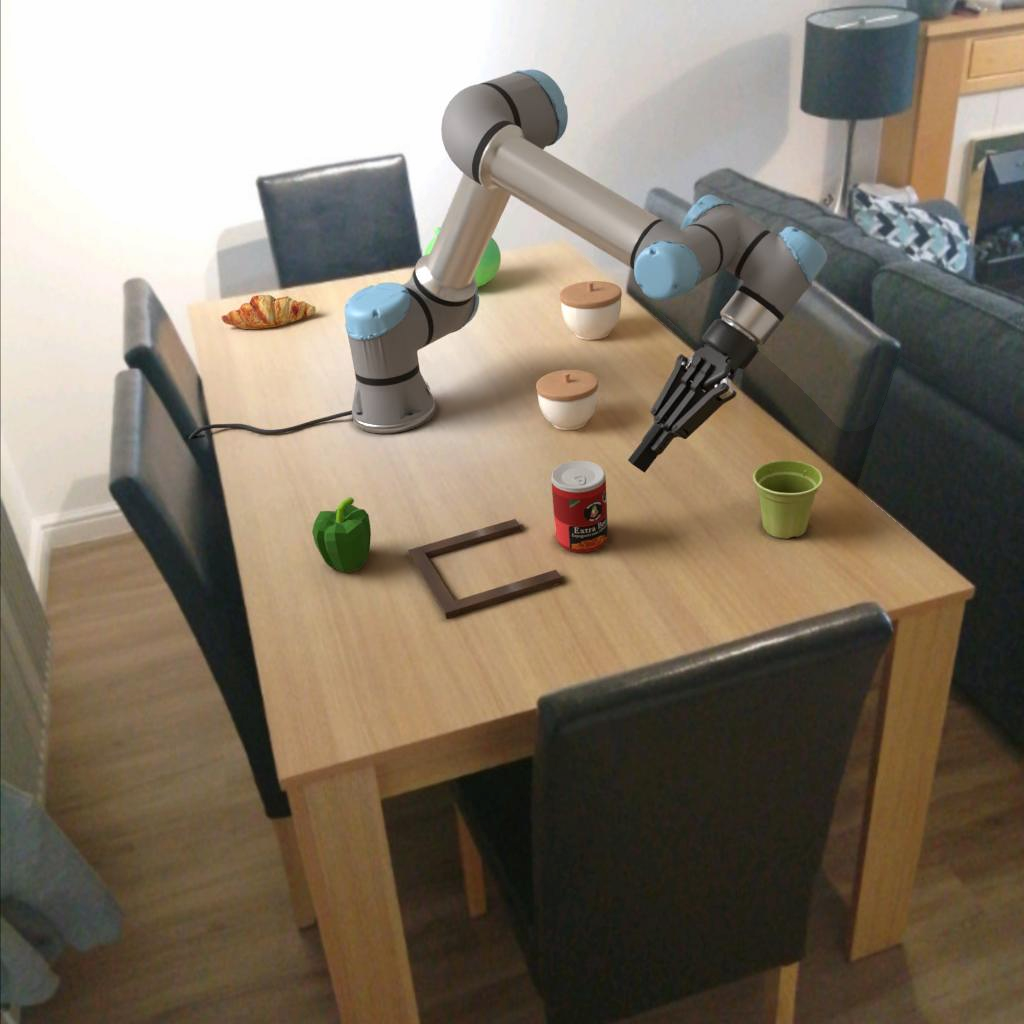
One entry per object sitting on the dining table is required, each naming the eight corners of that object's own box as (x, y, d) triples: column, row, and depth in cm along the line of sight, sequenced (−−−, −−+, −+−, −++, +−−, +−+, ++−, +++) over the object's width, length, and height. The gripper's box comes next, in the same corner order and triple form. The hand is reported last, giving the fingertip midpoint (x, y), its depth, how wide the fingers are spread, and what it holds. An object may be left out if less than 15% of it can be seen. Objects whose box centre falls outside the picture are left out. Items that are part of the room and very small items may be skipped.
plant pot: (805, 552, 144) (810, 499, 139) (741, 536, 149) (743, 484, 144) (827, 519, 151) (831, 467, 146) (764, 505, 155) (767, 454, 150)
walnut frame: (515, 524, 157) (515, 518, 156) (562, 582, 143) (561, 576, 142) (408, 555, 152) (407, 549, 151) (446, 619, 138) (445, 613, 138)
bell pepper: (328, 585, 147) (315, 526, 142) (314, 557, 154) (301, 499, 148) (384, 568, 150) (374, 509, 144) (368, 541, 156) (357, 483, 151)
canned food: (573, 560, 147) (568, 494, 141) (545, 534, 153) (540, 470, 148) (618, 542, 150) (616, 477, 144) (590, 518, 156) (586, 454, 150)
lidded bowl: (633, 326, 218) (632, 275, 212) (604, 349, 209) (602, 296, 203) (580, 318, 224) (578, 269, 218) (551, 340, 215) (547, 289, 209)
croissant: (319, 325, 243) (313, 291, 243) (316, 319, 233) (311, 284, 233) (227, 337, 241) (221, 302, 240) (221, 332, 231) (215, 296, 230)
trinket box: (595, 437, 178) (593, 387, 173) (534, 436, 180) (530, 386, 175) (603, 408, 187) (601, 360, 182) (544, 408, 189) (541, 360, 184)
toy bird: (421, 300, 242) (412, 238, 234) (437, 275, 256) (429, 215, 248) (496, 298, 239) (490, 235, 231) (509, 273, 253) (503, 213, 245)
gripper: (781, 361, 142) (675, 497, 146) (730, 330, 152) (632, 458, 156) (749, 333, 138) (640, 474, 142) (698, 304, 148) (598, 436, 152)
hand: (636, 466), depth 149 cm, fingers closed
